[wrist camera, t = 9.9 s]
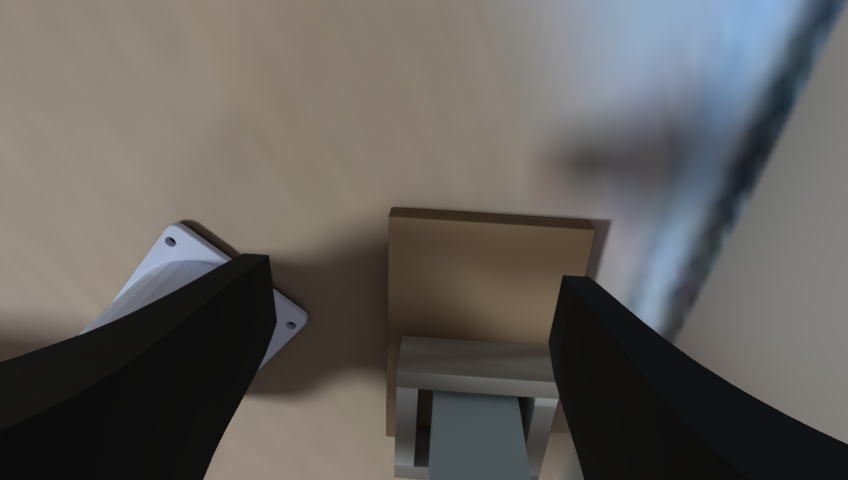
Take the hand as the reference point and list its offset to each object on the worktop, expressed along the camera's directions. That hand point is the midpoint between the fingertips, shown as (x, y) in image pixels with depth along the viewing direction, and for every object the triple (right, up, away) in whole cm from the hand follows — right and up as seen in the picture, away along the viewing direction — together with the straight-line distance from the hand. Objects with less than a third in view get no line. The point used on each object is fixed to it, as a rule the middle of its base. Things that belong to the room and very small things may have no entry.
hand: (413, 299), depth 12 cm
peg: (+3, -7, +13) cm, 15 cm away
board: (+3, -4, +13) cm, 14 cm away
